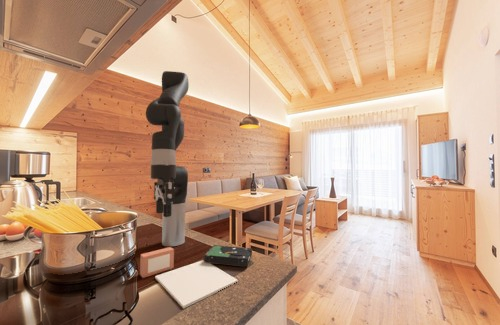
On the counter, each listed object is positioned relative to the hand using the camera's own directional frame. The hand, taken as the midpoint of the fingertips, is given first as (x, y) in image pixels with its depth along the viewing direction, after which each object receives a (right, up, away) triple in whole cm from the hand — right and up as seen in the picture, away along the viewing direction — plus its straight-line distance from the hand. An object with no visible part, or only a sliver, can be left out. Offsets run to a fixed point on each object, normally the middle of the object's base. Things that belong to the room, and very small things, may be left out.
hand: (163, 214), depth 64 cm
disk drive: (+20, -17, +6) cm, 27 cm away
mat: (+12, -17, -7) cm, 22 cm away
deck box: (-1, -17, -2) cm, 17 cm away
